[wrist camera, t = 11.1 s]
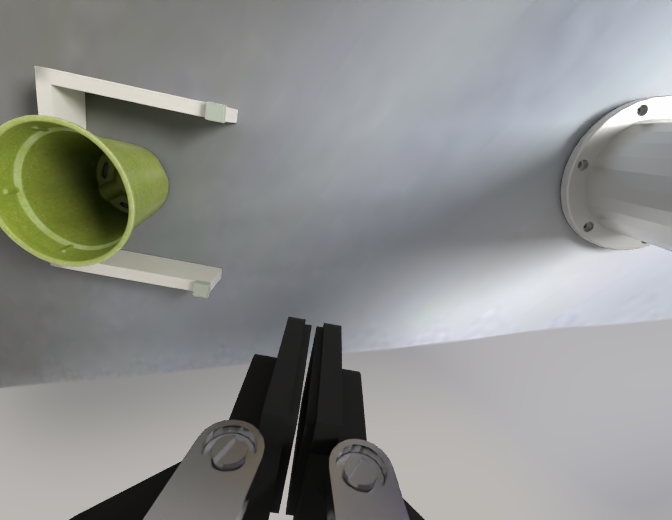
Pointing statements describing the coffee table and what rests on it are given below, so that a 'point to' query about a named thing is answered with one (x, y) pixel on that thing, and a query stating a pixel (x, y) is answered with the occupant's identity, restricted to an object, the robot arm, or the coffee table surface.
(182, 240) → the coffee table surface
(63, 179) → the plant pot
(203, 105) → the corral
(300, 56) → the coffee table surface
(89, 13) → the coffee table surface
